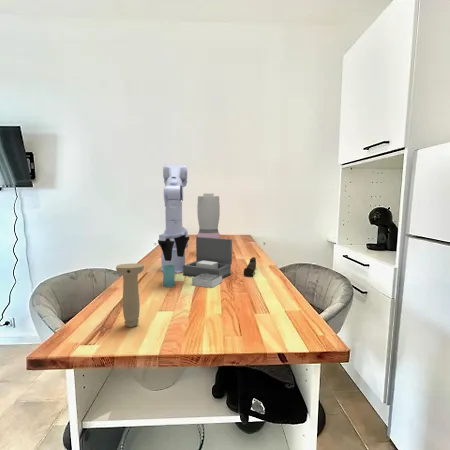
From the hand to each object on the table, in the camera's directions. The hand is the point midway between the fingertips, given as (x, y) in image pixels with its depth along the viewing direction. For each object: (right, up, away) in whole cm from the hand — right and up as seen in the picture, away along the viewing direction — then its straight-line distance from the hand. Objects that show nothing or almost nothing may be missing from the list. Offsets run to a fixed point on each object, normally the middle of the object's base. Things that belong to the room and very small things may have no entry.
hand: (174, 258), depth 113 cm
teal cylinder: (-2, -10, 0) cm, 10 cm away
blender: (+10, -4, +54) cm, 55 cm away
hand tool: (+28, -8, +21) cm, 36 cm away
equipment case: (+11, -8, +15) cm, 20 cm away
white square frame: (+12, -9, +3) cm, 15 cm away
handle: (-5, -13, -33) cm, 36 cm away
